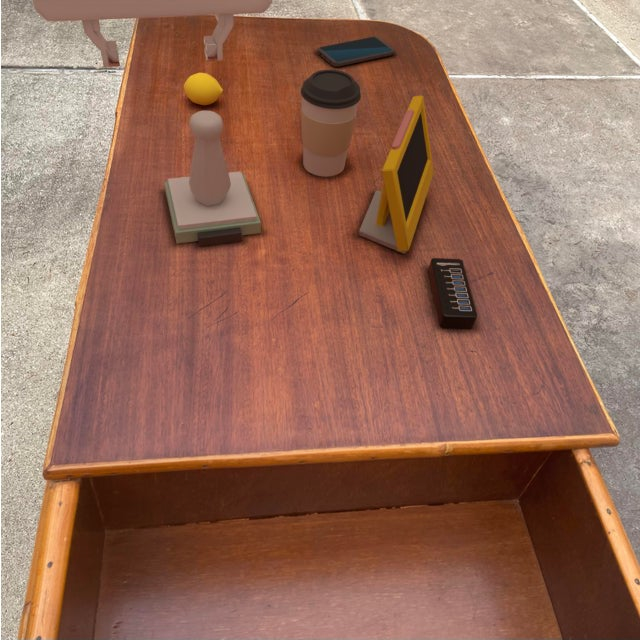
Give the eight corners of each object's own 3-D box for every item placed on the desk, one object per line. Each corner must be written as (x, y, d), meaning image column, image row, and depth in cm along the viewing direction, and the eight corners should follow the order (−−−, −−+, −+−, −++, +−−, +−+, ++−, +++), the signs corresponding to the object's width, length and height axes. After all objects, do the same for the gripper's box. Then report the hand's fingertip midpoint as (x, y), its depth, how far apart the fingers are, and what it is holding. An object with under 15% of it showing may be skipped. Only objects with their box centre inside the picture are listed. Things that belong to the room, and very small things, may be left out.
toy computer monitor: (404, 269, 89) (426, 175, 78) (349, 255, 91) (364, 160, 79) (429, 190, 103) (452, 99, 91) (382, 178, 104) (398, 87, 92)
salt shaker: (196, 182, 95) (190, 101, 85) (234, 188, 94) (232, 107, 85) (185, 206, 91) (177, 124, 81) (225, 212, 90) (222, 130, 81)
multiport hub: (440, 328, 83) (444, 316, 81) (427, 269, 90) (430, 257, 88) (473, 329, 83) (478, 317, 81) (458, 270, 90) (462, 258, 89)
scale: (177, 249, 89) (176, 234, 87) (165, 192, 97) (163, 177, 95) (262, 238, 92) (263, 223, 90) (243, 184, 100) (243, 168, 98)
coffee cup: (284, 162, 105) (288, 74, 94) (322, 142, 110) (330, 57, 98) (325, 187, 101) (334, 99, 90) (362, 166, 106) (375, 79, 95)
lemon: (180, 108, 113) (178, 79, 109) (188, 93, 117) (186, 64, 113) (220, 113, 113) (219, 84, 109) (226, 98, 117) (225, 69, 113)
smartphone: (315, 51, 132) (315, 47, 131) (375, 39, 138) (376, 35, 137) (334, 68, 128) (335, 63, 127) (395, 55, 134) (396, 50, 133)
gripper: (0, -99, 45) (46, 85, 56) (280, -98, 50) (275, 70, 61) (3, -124, 49) (45, 52, 60) (262, -121, 54) (261, 40, 65)
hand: (163, 61), depth 60 cm, fingers open, 8 cm apart
